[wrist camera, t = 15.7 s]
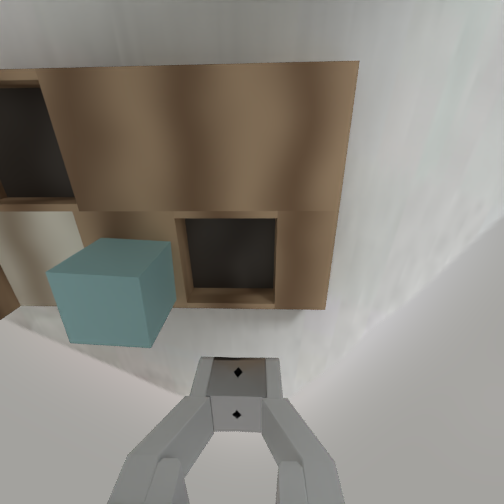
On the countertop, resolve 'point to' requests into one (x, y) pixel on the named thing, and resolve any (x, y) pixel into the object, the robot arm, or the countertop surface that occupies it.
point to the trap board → (178, 175)
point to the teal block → (115, 292)
